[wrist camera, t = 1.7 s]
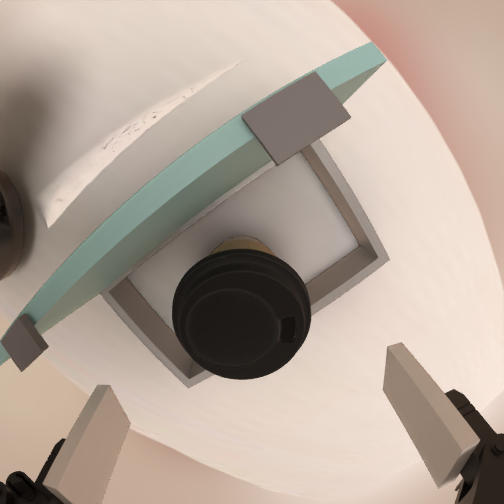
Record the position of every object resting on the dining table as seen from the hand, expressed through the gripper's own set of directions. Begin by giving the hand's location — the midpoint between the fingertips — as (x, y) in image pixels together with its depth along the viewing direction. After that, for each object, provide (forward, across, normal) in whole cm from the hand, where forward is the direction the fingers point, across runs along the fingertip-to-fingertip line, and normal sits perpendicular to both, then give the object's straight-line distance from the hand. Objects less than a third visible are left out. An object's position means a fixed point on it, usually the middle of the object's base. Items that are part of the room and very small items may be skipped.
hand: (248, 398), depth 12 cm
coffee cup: (+21, 0, 0) cm, 21 cm away
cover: (+15, -4, +7) cm, 17 cm away
